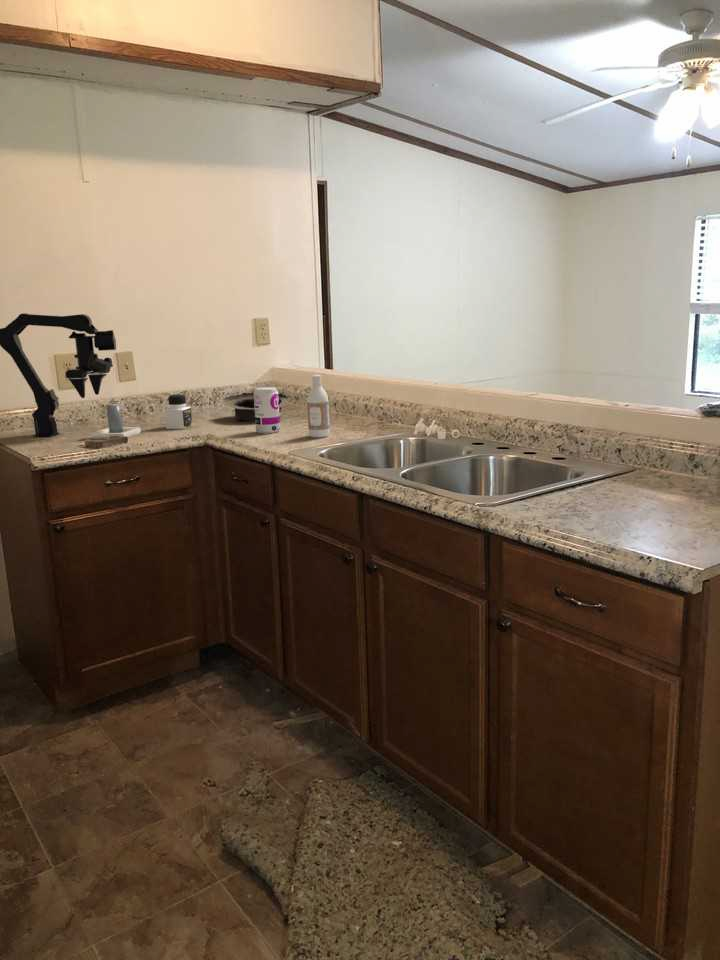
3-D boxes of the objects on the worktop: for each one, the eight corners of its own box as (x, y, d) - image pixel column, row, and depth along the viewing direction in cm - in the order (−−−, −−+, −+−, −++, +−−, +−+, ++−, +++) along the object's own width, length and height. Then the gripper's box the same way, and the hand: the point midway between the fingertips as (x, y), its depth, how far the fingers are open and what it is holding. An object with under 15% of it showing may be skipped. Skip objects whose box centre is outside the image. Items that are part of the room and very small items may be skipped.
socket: (85, 446, 251) (84, 440, 251) (114, 440, 260) (113, 434, 259) (99, 448, 247) (98, 442, 246) (128, 442, 255) (127, 436, 255)
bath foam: (305, 437, 255) (302, 376, 251) (313, 433, 262) (310, 374, 257) (325, 438, 253) (323, 376, 249) (332, 434, 260) (330, 374, 255)
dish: (91, 439, 264) (90, 433, 263) (109, 432, 275) (108, 427, 275) (124, 439, 261) (123, 433, 261) (140, 433, 273) (140, 427, 272)
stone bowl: (255, 411, 315) (255, 388, 312) (303, 420, 301) (303, 397, 298) (210, 419, 295) (210, 395, 293) (259, 429, 281) (259, 404, 279)
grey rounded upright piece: (107, 435, 265) (104, 406, 262) (108, 432, 270) (105, 404, 268) (124, 434, 266) (121, 405, 264) (125, 431, 271) (122, 403, 269)
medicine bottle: (184, 429, 278) (181, 395, 275) (165, 429, 280) (163, 395, 277) (192, 426, 285) (190, 393, 282) (174, 426, 286) (171, 393, 284)
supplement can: (284, 430, 270) (282, 387, 267) (272, 434, 263) (269, 390, 260) (264, 429, 274) (261, 386, 270) (251, 433, 266) (248, 389, 263)
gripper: (92, 353, 259) (97, 399, 263) (119, 348, 277) (124, 392, 281) (61, 353, 261) (67, 399, 265) (91, 349, 279) (96, 392, 283)
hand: (90, 396), depth 273 cm, fingers open, 9 cm apart
